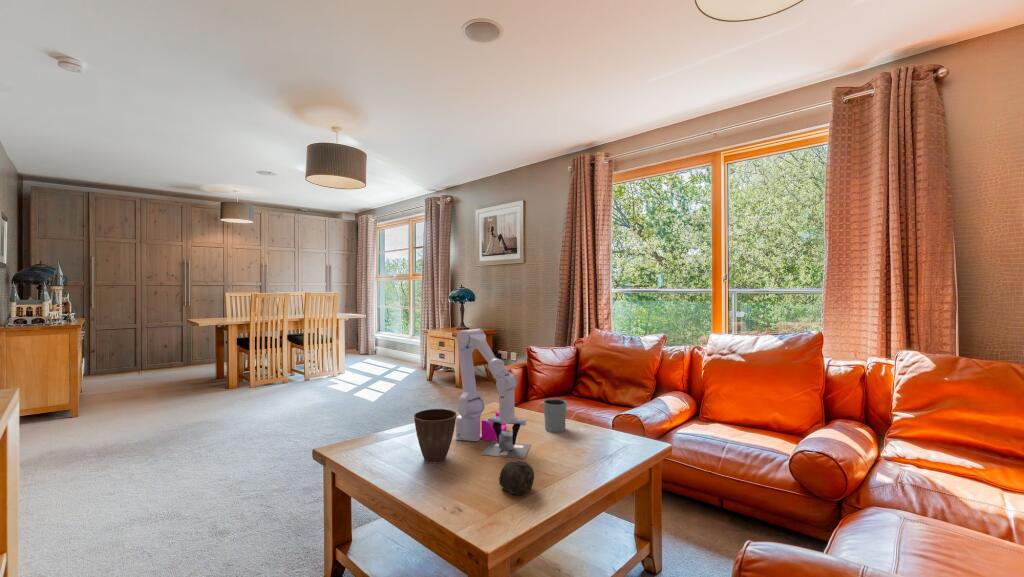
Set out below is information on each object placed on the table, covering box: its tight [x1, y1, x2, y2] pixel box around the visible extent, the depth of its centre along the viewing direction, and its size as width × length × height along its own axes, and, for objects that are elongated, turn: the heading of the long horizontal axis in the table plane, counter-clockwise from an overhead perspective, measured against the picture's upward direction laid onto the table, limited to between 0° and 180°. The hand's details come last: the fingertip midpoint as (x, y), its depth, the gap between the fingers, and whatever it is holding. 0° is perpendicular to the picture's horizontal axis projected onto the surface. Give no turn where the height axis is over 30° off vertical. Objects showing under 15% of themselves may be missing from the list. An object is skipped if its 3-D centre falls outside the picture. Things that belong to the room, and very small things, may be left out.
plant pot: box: [413, 408, 457, 464], centre depth 158 cm, size 15×15×16 cm
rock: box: [498, 459, 535, 496], centre depth 134 cm, size 10×11×10 cm
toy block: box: [481, 410, 507, 442], centre depth 185 cm, size 15×6×8 cm, turn 156°
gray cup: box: [542, 398, 568, 434], centre depth 192 cm, size 10×10×12 cm
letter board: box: [481, 441, 532, 460], centre depth 167 cm, size 16×14×1 cm
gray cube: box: [499, 431, 515, 450], centre depth 167 cm, size 5×5×5 cm
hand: (506, 443), depth 167 cm, fingers closed on gray cube, 5 cm apart
